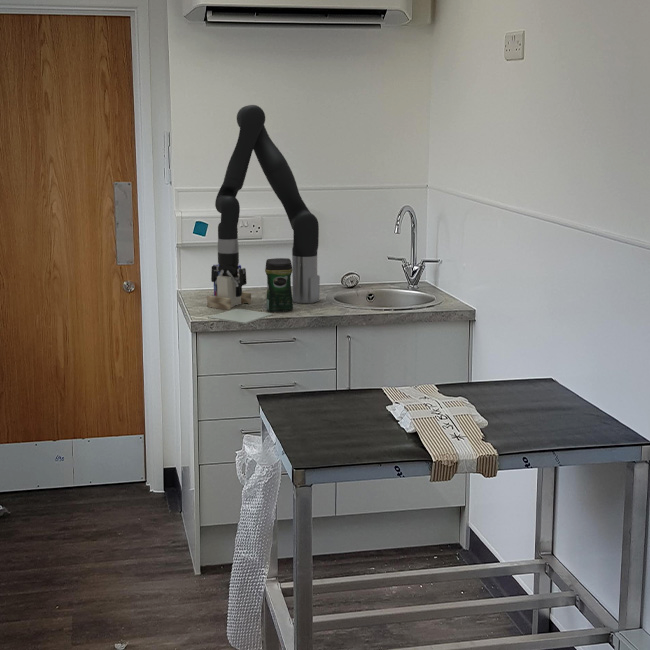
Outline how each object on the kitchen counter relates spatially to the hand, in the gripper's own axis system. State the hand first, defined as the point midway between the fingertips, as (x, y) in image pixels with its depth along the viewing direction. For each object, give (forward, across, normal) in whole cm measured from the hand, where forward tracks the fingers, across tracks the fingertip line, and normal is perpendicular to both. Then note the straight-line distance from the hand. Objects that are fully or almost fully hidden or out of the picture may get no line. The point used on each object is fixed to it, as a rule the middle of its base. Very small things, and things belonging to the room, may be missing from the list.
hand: (229, 295), depth 343 cm
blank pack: (+4, 0, 0) cm, 4 cm away
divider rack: (+4, 0, 0) cm, 4 cm away
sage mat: (+4, -15, +13) cm, 20 cm away
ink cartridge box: (+4, +11, -13) cm, 17 cm away
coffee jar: (+4, -20, -3) cm, 21 cm away
